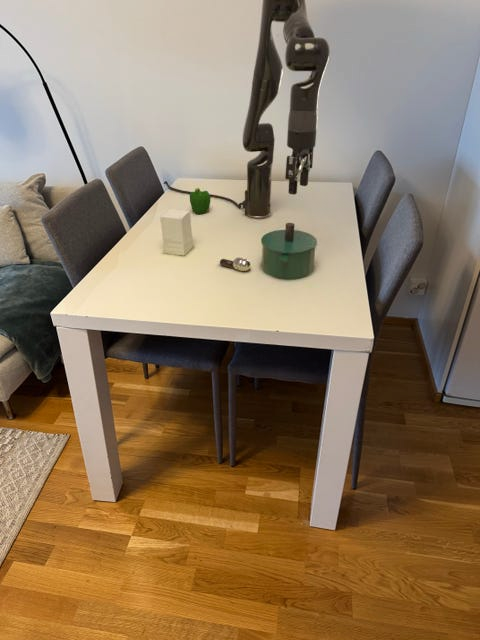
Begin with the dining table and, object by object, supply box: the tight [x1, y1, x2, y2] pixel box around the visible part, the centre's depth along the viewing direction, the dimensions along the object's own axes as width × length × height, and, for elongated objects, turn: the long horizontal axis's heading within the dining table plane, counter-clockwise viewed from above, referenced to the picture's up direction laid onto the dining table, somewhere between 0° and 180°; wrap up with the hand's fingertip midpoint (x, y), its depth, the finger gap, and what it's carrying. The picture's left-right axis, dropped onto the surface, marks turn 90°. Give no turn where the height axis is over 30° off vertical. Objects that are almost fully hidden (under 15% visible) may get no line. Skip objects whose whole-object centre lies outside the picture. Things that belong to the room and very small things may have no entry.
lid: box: [260, 222, 318, 254], centre depth 132 cm, size 17×17×6 cm
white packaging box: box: [159, 208, 194, 256], centre depth 145 cm, size 7×7×13 cm
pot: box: [261, 244, 316, 280], centre depth 135 cm, size 16×21×8 cm
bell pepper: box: [189, 187, 212, 215], centre depth 176 cm, size 8×8×10 cm
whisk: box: [219, 256, 251, 272], centre depth 136 cm, size 10×4×4 cm, turn 62°
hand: (298, 189), depth 126 cm, fingers open, 8 cm apart
